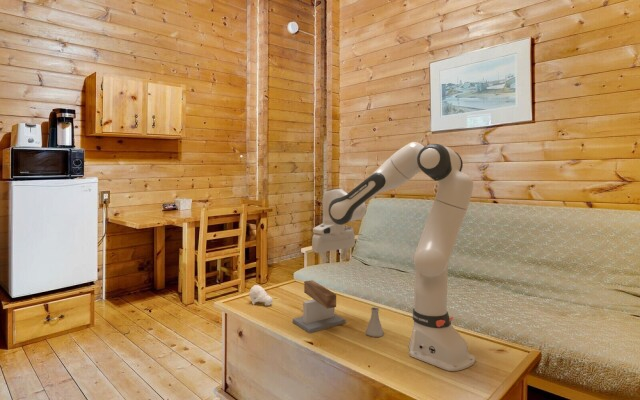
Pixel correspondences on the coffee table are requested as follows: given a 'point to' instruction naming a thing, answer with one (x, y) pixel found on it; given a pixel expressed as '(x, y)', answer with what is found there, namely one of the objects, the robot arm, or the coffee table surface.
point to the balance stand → (317, 317)
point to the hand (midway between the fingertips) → (334, 260)
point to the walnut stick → (320, 294)
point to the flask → (374, 324)
